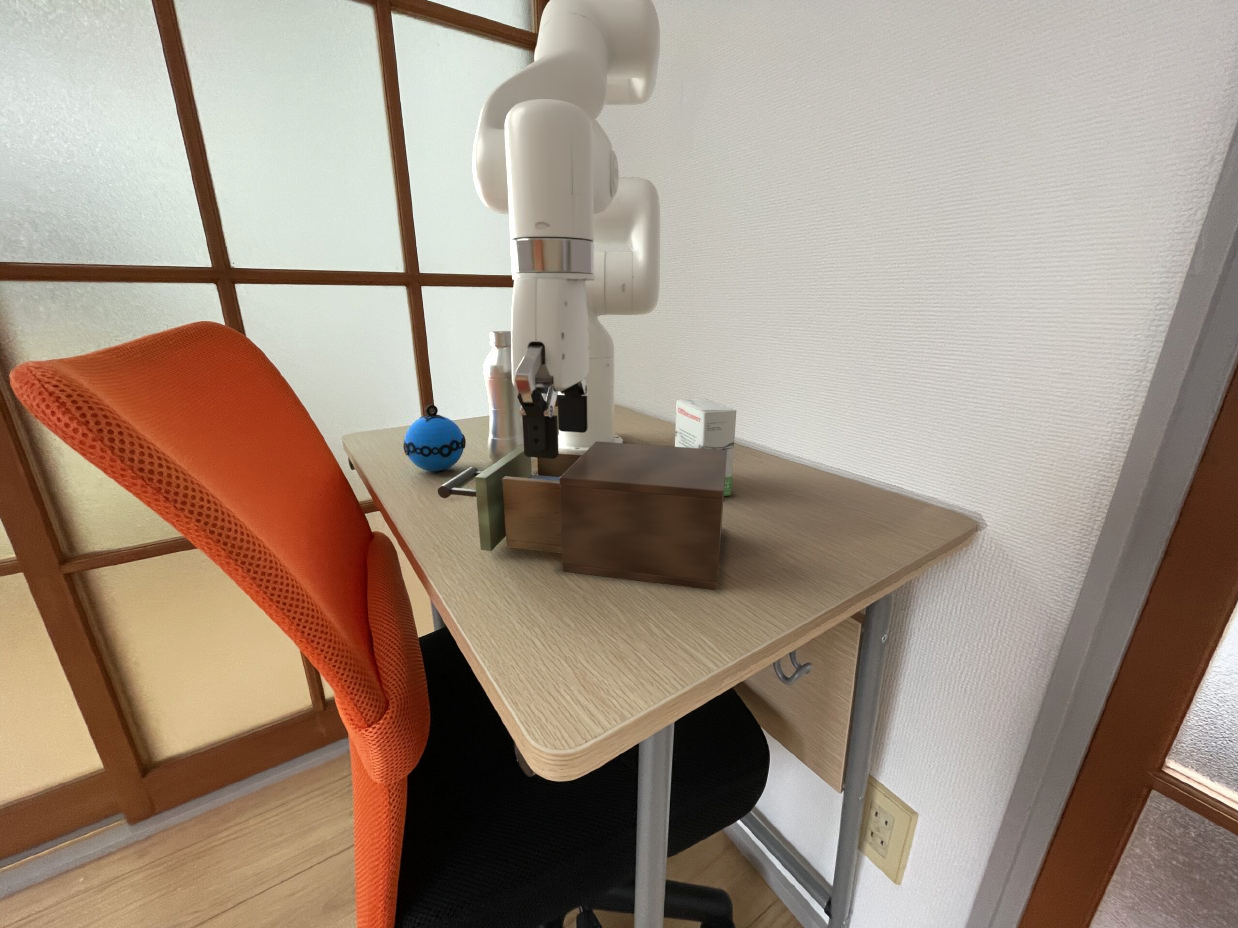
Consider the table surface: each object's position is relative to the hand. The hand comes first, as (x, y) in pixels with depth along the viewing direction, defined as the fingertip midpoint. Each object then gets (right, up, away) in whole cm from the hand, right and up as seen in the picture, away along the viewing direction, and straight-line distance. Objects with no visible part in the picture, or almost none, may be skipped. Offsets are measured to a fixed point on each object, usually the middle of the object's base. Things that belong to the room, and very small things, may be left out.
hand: (558, 443), depth 54 cm
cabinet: (+9, -11, +1) cm, 14 cm away
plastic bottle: (-11, -2, +29) cm, 31 cm away
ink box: (+18, -6, +19) cm, 27 cm away
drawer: (-3, -9, +4) cm, 10 cm away
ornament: (-21, -3, +25) cm, 33 cm away
